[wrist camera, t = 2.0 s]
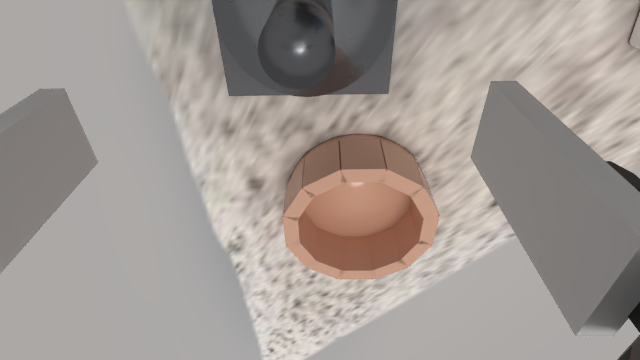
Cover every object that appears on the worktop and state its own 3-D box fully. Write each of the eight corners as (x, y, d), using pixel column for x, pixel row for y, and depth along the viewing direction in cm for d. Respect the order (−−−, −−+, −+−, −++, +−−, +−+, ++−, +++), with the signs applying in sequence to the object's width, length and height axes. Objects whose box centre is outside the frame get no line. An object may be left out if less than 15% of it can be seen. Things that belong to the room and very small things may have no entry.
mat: (195, -105, 21) (192, -105, 21) (406, -111, 21) (408, -111, 20) (230, 92, 28) (229, 95, 28) (387, 90, 28) (388, 93, 28)
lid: (197, -101, 21) (131, -103, 14) (404, -106, 20) (446, -111, 13) (231, 93, 28) (199, 158, 21) (385, 91, 27) (406, 156, 20)
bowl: (283, 135, 30) (277, 170, 26) (434, 133, 30) (450, 168, 26) (293, 239, 38) (289, 279, 34) (413, 239, 38) (424, 278, 34)
